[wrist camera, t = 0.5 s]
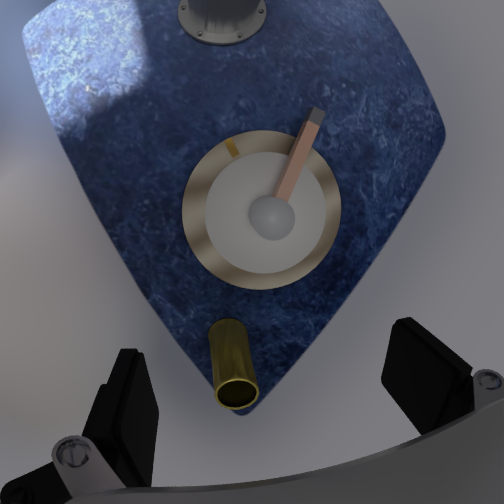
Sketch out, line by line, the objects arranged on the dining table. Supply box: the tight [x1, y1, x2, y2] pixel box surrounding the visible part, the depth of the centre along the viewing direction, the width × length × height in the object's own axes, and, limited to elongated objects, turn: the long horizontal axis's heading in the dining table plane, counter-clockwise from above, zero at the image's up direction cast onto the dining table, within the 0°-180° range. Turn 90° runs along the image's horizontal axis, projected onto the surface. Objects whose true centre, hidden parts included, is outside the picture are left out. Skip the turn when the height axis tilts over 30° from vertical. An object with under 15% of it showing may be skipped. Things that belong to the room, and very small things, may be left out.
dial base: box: [182, 130, 341, 290], centre depth 41 cm, size 22×22×2 cm
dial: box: [205, 107, 326, 274], centre depth 37 cm, size 22×16×6 cm
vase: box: [208, 318, 259, 410], centre depth 40 cm, size 6×6×14 cm
